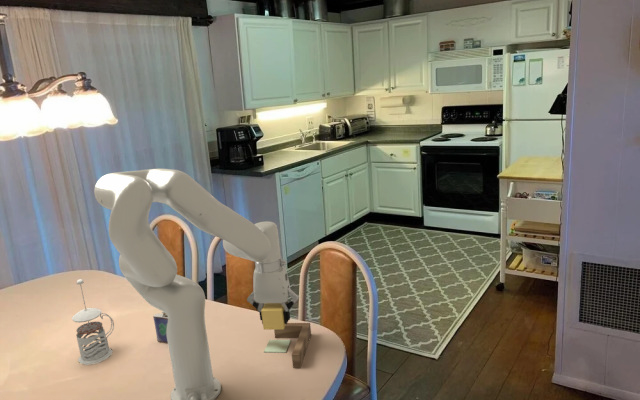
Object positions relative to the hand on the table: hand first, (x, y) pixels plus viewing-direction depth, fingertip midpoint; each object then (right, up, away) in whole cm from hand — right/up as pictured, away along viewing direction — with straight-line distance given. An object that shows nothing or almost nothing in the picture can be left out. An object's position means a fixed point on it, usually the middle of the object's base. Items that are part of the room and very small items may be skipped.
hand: (275, 321), depth 144 cm
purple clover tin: (-34, -9, +10) cm, 37 cm away
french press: (-55, -12, +6) cm, 56 cm away
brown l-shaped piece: (+3, -8, -1) cm, 9 cm away
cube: (0, -1, 0) cm, 1 cm away
